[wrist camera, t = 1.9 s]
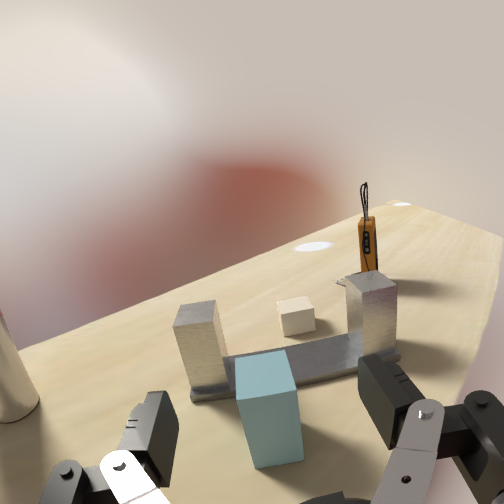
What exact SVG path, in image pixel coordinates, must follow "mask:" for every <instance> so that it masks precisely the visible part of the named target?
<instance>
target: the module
mask: <svg viewBox="0 0 504 504" xmlns="http://www.w3.org/2000/svg"><path fill="white" fill-rule="evenodd" d="M235 377H236V401H237V405H238V409H239V412H240V416H241V420H242V424H243V427H244V431H245V435H246V438H247V442H248V446H249V449H250V453H251V456H252V460H253V463H254V467H255V469H257V468H264V467H270V466H276V465H282V464H288V463H293V462H298V461H303V460H304V451H303V442H302V432H301V423H300V414H299V405H298V396H297V389H296V386H295V382H294V379H293V376H292V372H291V369H290V366H289V362H288V359H287V356H286V352H285V350H280V351H275V352H269V353H264V354H258V355H252V356H246V357H240V358H235Z"/></svg>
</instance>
